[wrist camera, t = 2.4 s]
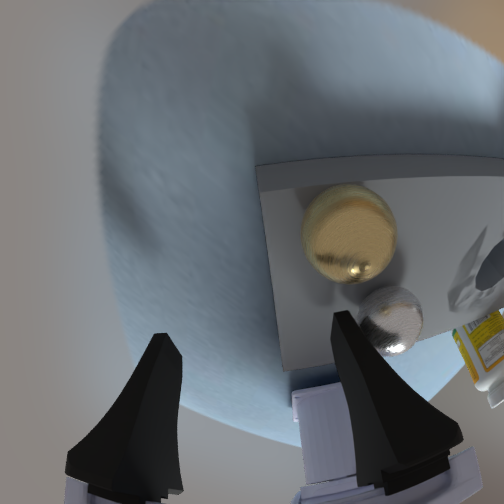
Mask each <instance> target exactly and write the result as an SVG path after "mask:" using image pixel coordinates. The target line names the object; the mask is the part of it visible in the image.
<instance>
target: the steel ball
mask: <svg viewBox="0 0 504 504" xmlns="http://www.w3.org/2000/svg"><path fill="white" fill-rule="evenodd" d="M356 322H357V324H358V325H359V327H360V328H361V330H362V331H363V332H364V334H365V335H366V337H367V338H368V339H369V341H370V342H371V343H372V345H373V346H374V347H375V348H376V350H377V351H378V352H379V353H380V355H381V356H382V357H393V356H397V355H400V354H402V353H404V352H406V351H407V350H409V349H410V348H411V347H412V346H413V345H414V344H415V343H416V341H417V340H418V338H419V336H420V334H421V332H422V329H423V323H424V315H423V310H422V306H421V304H420V302H419V300H418V299H417V298H416V296H415V295H414V294H413V293H411V292H410V291H409V290H407V289H405V288H403V287H399V286H385V287H381V288H379V289H377V290H375V291H373V292H372V293H370V294H369V295H368V296H367V297H366V298H365V299H364V301H363V302H362V304H361V305H360V307H359V310H358V313H357V317H356Z"/></svg>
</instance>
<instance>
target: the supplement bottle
mask: <svg viewBox="0 0 504 504" xmlns="http://www.w3.org/2000/svg"><path fill="white" fill-rule="evenodd" d="M451 334H452V336H453V338H454V340H455V342H456V344H457V346H458V349H459V351H460V353H461V355H462V357H463V359H464V361H465V363H466V365H467V368H468V370H469V372H470V375H471V377H472V379H473V382H474V384H475V387H476V388H477V389H478V390H479V391H486V390H488V392H489V395H488V401H489V403H490V406H491V408H494V407H496V406H497V405H498V404H500V403H501V402H503V401H504V319H503V317H502V315H501V314H500V312H499V310H497V311H495V312H493V313H491V314H489V315H486V316H484V317H482V318H479V319H477V320H475V321H472V322H470V323H467V324H465V325H463V326H460V327H457V328H455V329H452V330H451Z"/></svg>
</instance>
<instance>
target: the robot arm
mask: <svg viewBox="0 0 504 504" xmlns="http://www.w3.org/2000/svg"><path fill="white" fill-rule="evenodd" d="M330 341H331V346H332V352H333V357H334V361H335V364H336V368H337V371H338V374H339V377H340V381H341V382H338V383H333V384H329V385H323V386H318V387H312V388H306V389H300V390H295V391H293V392H292V393H291V394H292V410H293V421H294V422H299V429H300V436H301V444H302V452H303V460H304V469H305V477H306V484H314V483H321V482H326V481H329V482H326V483H321V484H316V485H311V486H305V487H300V490H301V491H299V492H298V493H297V494H296V495H295V497H294V498H293V499H292V501H291V503H290V504H459V503H461V502H462V501H464V500H465V499H467V498H468V497H470V496H471V495H473V494H474V493H476V492H477V491H479V490H480V489H481V488H482V487H483V484H482V479H481V474H480V469H479V465H478V460H477V456H476V452H475V448H474V447H473V446H472V447H470V448H468V449H466V450H464V451H462V452H460V453H458V454H455V455H453V456H450V457H448V455H450V451H449V449H450V448H452V447H454V446H456V445H458V444H460V443H461V442H462V441H463V440H464V439H463V436H462V432H461V429H460V427H459V425H458V423H457V422H456V421H454V420H452V419H451V418H449V417H448V416H446V415H445V414H443V413H442V412H440V411H439V410H438V409H436V408H435V407H434V406H432V405H431V404H430V403H428V402H427V401H426V400H425V399H424V398H423V397H421V396H420V395H419V394H418V393H417V392H415V391H414V390H413V389H412V388H411V387H410V386H409V385H408V384H407V383H406V382H405V381H404V380H403V379H402V378H401V377H400V376H399V375H398V374H397V373H396V372H395V371H394V370H393V369H392V368H391V366H390V365H389V364H388V363H387V362H386V361H385V360H384V358H383V357H382V356H381V355H380V353H379V352H378V351H377V350H376V348H375V347H374V346H373V345H372V343H371V342H370V341H369V339H368V338H367V337H366V335H365V334H364V332H363V331H362V330H361V328H360V327H359V325H358V324H357V322H356V321H355V319H354V318H353V316H352V315H351V313H350V311H348V310H344V311H339V312H334V313H333V321H332V329H331V336H330ZM181 384H182V355H181V354H180V352H179V351H178V349H177V348H176V346H175V345H174V343H173V342H172V340H171V339H170V337H169V336H168V334H167V333H156V334H154V335H153V337H152V339H151V341H150V342H149V344H148V346H147V348H146V350H145V352H144V354H143V356H142V357H141V359H140V361H139V363H138V365H137V367H136V368H135V370H134V372H133V374H132V376H131V378H130V379H129V381H128V382H127V384H126V386H125V387H124V389H123V390H122V392H121V394H120V395H119V397H118V398H117V399H116V401H115V402H114V404H113V405H112V407H111V408H110V409H109V411H108V412H107V413H106V414H105V416H104V417H103V418H102V419H101V421H100V422H99V423H98V424H97V425H96V426H95V427H94V428H93V429H92V430H91V431H90V433H88V435H87V436H86V437H84V438H83V439H82V440H81V441H80V442H79V443H78V444H77V445H76V446H74V447H73V448H72V449H71V450H69V451H68V454H67V461H66V468H65V473H66V474H67V475H68V476H71V477H73V478H75V479H72V478H69V477H67V478H66V488H65V501H64V504H164V503H161V498H164V499H168V494H177V495H179V494H181V493H182V492H183V491H184V490H183V485H182V480H181V474H180V467H179V458H178V442H177V419H178V409H179V401H180V392H181ZM76 479H78V480H80V481H78V480H76ZM81 481H83V482H81ZM85 482H86V483H85Z"/></svg>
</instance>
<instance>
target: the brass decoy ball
mask: <svg viewBox="0 0 504 504" xmlns="http://www.w3.org/2000/svg"><path fill="white" fill-rule="evenodd" d="M300 238H301V244H302V248H303V252H304V254H305V256H306V258H307V260H308V261H309V263H310V264H311V266H312V267H313V268H314V269H315V270H316V271H317V272H318V273H319V274H320V275H322V276H323V277H325V278H327V279H328V280H331V281H333V282H336V283H340V284H359V283H363V282H366V281H368V280H371V279H372V278H374V277H376V276H377V275H378V274H380V273H381V272H382V271H383V270H384V269H385V268H386V267H387V265H388V264H389V263H390V261H391V259H392V257H393V255H394V252H395V249H396V245H397V239H398V233H397V224H396V220H395V217H394V215H393V212H392V211H391V209H390V207H389V206H388V204H387V203H386V202H385V200H384V199H383V198H381V197H380V196H379V195H378V194H377V193H375V192H374V191H372V190H370V189H368V188H366V187H363V186H359V185H354V184H343V185H337V186H334V187H331V188H329V189H326V190H325V191H323V192H322V193H320V194H319V195H318V196H317V197H316V198H314V200H313V201H312V202H311V203H310V205H309V206H308V208H307V209H306V211H305V213H304V216H303V219H302V223H301V232H300Z"/></svg>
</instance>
